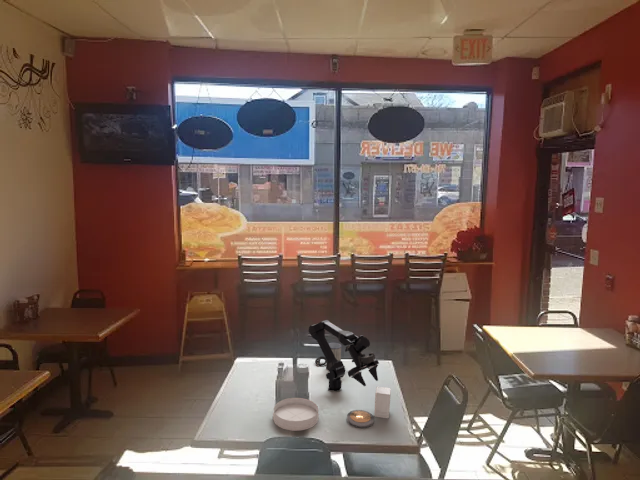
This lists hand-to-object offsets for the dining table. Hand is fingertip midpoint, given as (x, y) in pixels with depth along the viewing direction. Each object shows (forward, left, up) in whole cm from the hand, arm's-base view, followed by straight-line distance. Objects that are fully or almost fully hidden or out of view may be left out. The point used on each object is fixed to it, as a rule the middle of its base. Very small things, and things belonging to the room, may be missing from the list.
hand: (371, 383), depth 233 cm
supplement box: (+6, -5, -13) cm, 16 cm away
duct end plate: (-4, -14, -13) cm, 19 cm away
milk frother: (-29, +43, -13) cm, 53 cm away
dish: (-35, -18, -14) cm, 42 cm away
